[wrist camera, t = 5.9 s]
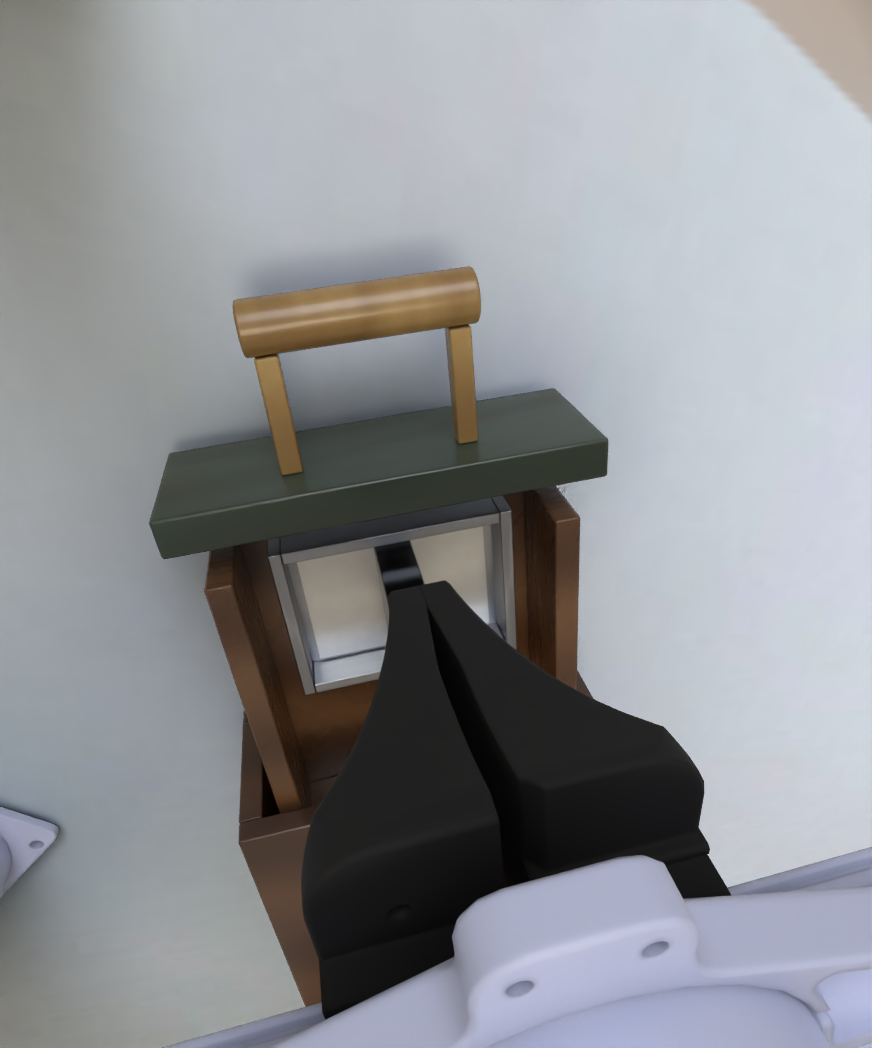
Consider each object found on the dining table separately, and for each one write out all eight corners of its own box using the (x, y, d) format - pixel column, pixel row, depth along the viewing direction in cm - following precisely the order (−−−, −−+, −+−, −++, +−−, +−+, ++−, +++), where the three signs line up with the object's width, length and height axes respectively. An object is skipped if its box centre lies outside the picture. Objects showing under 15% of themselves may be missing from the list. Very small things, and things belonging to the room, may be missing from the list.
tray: (266, 529, 22) (266, 639, 17) (497, 486, 23) (555, 579, 18) (302, 664, 25) (310, 788, 20) (504, 621, 26) (555, 729, 21)
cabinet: (243, 709, 28) (237, 843, 23) (560, 639, 30) (622, 749, 24) (318, 927, 37) (326, 1059, 31) (559, 863, 38) (604, 979, 33)
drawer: (116, 294, 18) (78, 338, 15) (554, 233, 20) (618, 259, 16) (277, 780, 29) (278, 875, 25) (554, 715, 31) (593, 796, 27)
